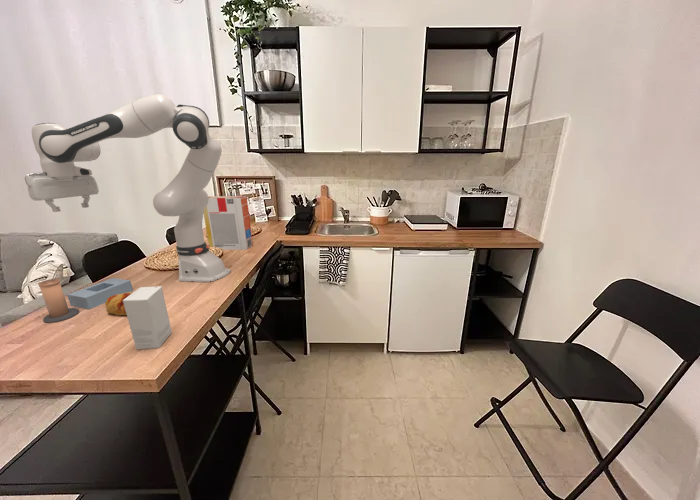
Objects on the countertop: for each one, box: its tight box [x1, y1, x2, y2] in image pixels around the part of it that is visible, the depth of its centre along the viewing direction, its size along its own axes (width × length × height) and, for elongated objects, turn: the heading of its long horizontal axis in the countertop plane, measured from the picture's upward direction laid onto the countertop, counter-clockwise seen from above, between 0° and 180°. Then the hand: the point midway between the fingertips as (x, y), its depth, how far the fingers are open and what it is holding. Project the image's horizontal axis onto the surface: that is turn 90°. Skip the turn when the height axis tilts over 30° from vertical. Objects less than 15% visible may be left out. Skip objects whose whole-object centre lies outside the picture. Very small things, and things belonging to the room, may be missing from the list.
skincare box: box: [123, 285, 173, 350], centre depth 83 cm, size 8×7×16 cm
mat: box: [42, 307, 80, 324], centre depth 101 cm, size 9×9×1 cm
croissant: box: [104, 291, 134, 316], centre depth 104 cm, size 21×10×8 cm, turn 64°
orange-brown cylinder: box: [37, 278, 69, 318], centre depth 99 cm, size 5×5×12 cm
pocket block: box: [66, 277, 134, 310], centre depth 113 cm, size 10×16×4 cm, turn 162°
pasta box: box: [203, 195, 254, 251], centre depth 172 cm, size 23×8×30 cm, turn 85°
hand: (71, 209), depth 111 cm, fingers open, 8 cm apart
